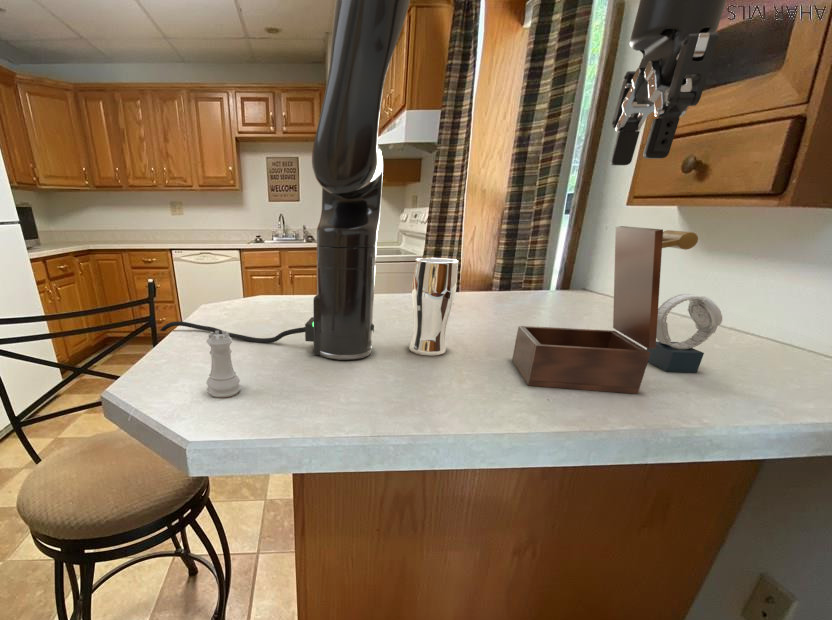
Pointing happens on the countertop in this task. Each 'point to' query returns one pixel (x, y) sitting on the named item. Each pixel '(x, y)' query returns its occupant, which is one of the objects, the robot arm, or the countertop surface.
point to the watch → (682, 353)
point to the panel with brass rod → (641, 278)
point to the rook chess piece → (221, 367)
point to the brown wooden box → (579, 359)
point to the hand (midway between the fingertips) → (635, 162)
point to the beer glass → (432, 303)
